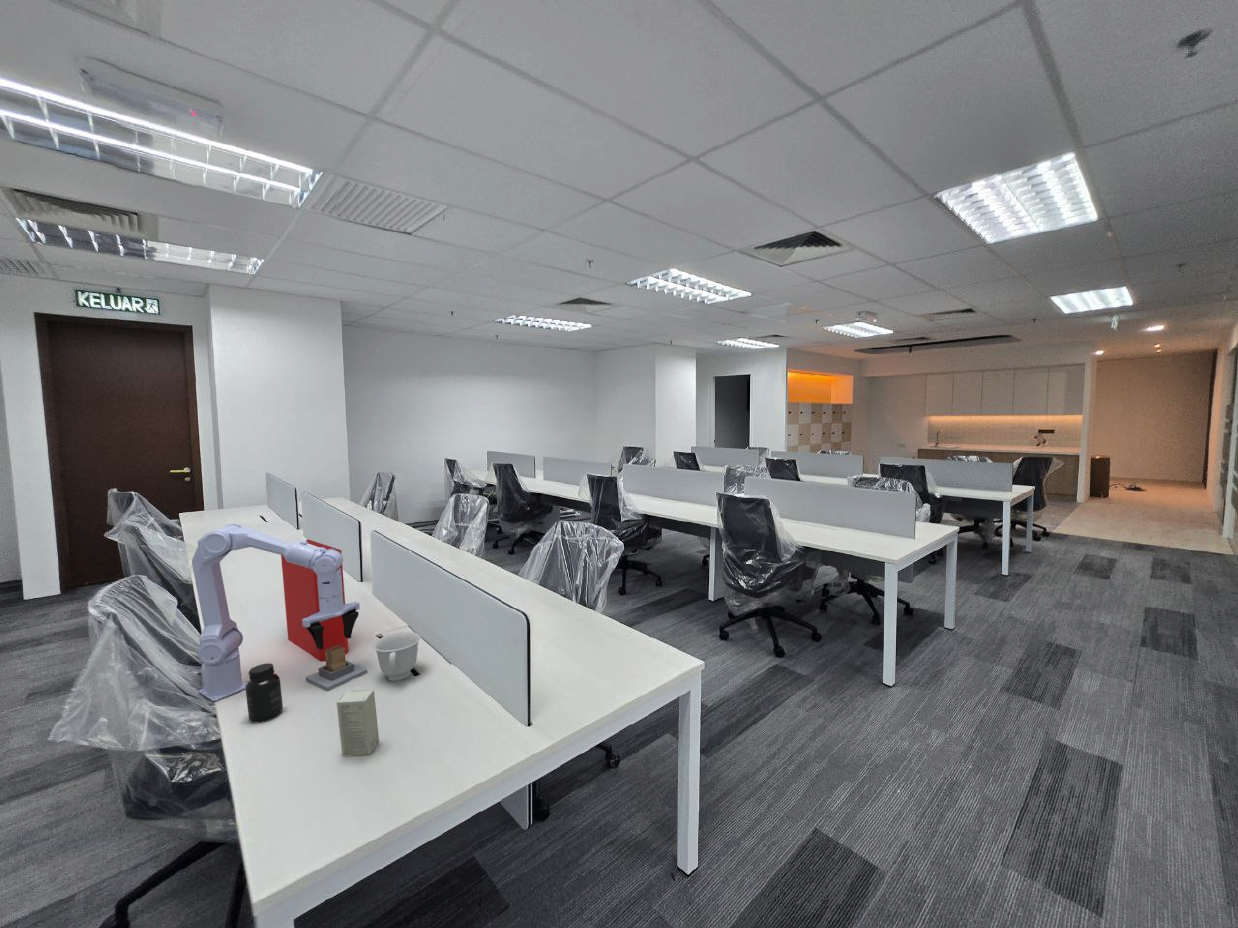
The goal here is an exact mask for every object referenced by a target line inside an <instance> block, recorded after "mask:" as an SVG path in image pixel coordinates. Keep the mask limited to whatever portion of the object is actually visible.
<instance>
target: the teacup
mask: <svg viewBox="0 0 1238 928" xmlns="http://www.w3.org/2000/svg"><path fill="white" fill-rule="evenodd" d="M420 640H421V635H420V634H419V633H416V632H413V631H401V632H400V631H399V632H393V633H390V634H387V635H385V636H382V637H380V638H379V639H377V640H376V641H375V642H374V643H373V645H372V648H373V650H375V651H376V656H377V659H378V660H377V661H378V664H379V667H380V670H381V672H382V673H383V674H384V675H386V676H387V679H389V680H390V681H401V680H405V679H406V678H408V677H409V676H410V675H411V670H412V669H414V667H415V666H416V663H417V659H418V646H419V642H420ZM389 680H388V681H389Z"/></svg>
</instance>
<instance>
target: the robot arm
mask: <svg viewBox="0 0 1238 928" xmlns="http://www.w3.org/2000/svg"><path fill="white" fill-rule="evenodd" d="M247 548H254V549H258V550H260V551H265V552H267V553H273V554H277V555H280V556H281V555H283V556H284V557H285V559H286V561H287V562H290V563H293V564H297V565H300V566H303V567H306V568H310V569H313V571H314V572H315V573H316V574H317V578H318V581H317V582H318V594H319V608H320V612H317V613H315V614H313V615H311V616H309V617H307V618H304V619H302V623H303V626H304V627H306V628H307V630H308V631H309V632H310V634H311V635H312V637H313V639H314V641H315V644H316V647H317V648H318V649H320V650H321V649H323V647H324V644H323V630H324V626H322V625H321V623H319V622H321V621H324V620H327V619H330V618H333V617H337V616H340V615H341V617H342V620H343V626H344V636H345V637H346V638H348V640H349V639H352V634H353V630H354V626H355V623H356V621H357V618H358V617H359V613H360V612H359V611H358V610H360V607H361V606H360V602H357V601H353V602H349V603H345V604H344V605H343V591H342V577H341V568H339V567H340V566H341V564H342V565H343V561H344V557H343V555H341V553H342V552H341V553H340V552H338V551H336V550H335V549H328V550H325V548H323V547H322V548H317V547H314V546H311V545H308V544H307V542H306V540H301V541H298V540H297V541H294V542H292V543H290V542H287V541H284V540H281V539H279V538H276V537H273V536H270V535H268V534H265V533H262V532H260V531H257V530H254V529H253V528H251V527H249V526H242V525H240V524H236V523H231V524H227V525H225V526H223V527H221V528H218V529H215V530H211V531H208V532H207V533H205V534H204V535H203V536H202V537H201V538H199V539H198V540H197V548H196V549H195V552H194V554H193V557H192V559H191V565H192V566H191V567H192V571H193V577H194V580H195V586H196V591H197V597H198V601H199V602H198V603H199V606H200V612H201V617H202V618H201V619H202V623H203V628H202V629H203V630H202V632H201V634H200V636H199V638H198V641H199V647H198V650H197V658H198V659H199V661H200V662H201V663H202V664H201V670H200V672H201V678H202V679H201V681H202V689H200V690H198V693H199V694H201V695H202V696H204V697H205V698H206V699H207V698H208V699H209V700H210V701H212V702H216V699H217V701H219V700H222V699H224V698H226V697H229V696H231V695H234V694H236V693H239V692H241V691H244V690H245V687H246V684H247V683H246V682H244V681H243V678H242V677H243V676H242V668H241V657H240V650H239V647H240V646H241V645H242V643H243V641H244V635H243V634H242V632H241V630H239V628H238V625H237V622H236V621H234V620H233V619H231V617H230V616H231V615H230V611H229V606H228V601H227V595H226V590H225V584H224V580H223V573H222V568H221V562H222V561H223V560H224V558H226V557H227V556H228V555H229V553H230V552H232V551H238V550H243V549H247ZM338 568H339V569H338Z"/></svg>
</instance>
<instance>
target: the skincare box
mask: <svg viewBox="0 0 1238 928" xmlns="http://www.w3.org/2000/svg"><path fill="white" fill-rule="evenodd" d="M376 706H377V705H376V696H375V690H374V689H365V690H349V691H345V693H343V694H342V696H341V697H340V698H338V699H337V701H336V708H337V709H336V710H337V711H336V712H337V718H338V719H337V720H338V728H339V738H340V739H339V741H340V746H341V756H342V757H345V756H346V757H348V756H349V757H350V756H365V755H367V756H368V755H371V754H372V753H373V752H374V750H375V749H376V747H377V746H378V744H379V743H380V738H379V736H380V735H379V726H378V725H379V724H378V717H377V707H376Z"/></svg>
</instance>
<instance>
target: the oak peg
mask: <svg viewBox="0 0 1238 928" xmlns="http://www.w3.org/2000/svg"><path fill="white" fill-rule="evenodd" d="M325 657H326V662H325V665H326V669H327V670H329V671H331V672H334V671H336V670H338V669H340V668H343V667H345V666H346V661H347V659H346V655H345V648H344V647H341V646H339V645H337V646H334V647H332V648H329V649H327V650H325Z"/></svg>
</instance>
